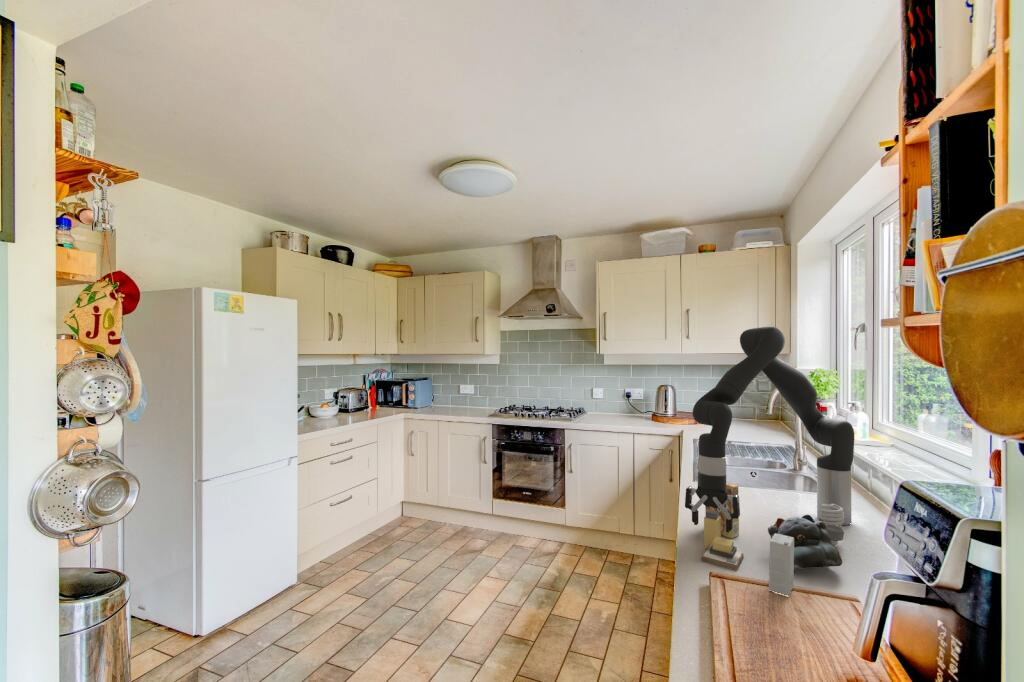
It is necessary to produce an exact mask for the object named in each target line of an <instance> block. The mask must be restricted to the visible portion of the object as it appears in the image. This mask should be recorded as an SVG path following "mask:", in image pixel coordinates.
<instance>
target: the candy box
mask: <svg viewBox="0 0 1024 682" xmlns="http://www.w3.org/2000/svg"><path fill="white" fill-rule="evenodd" d="M726 492H727V494H728V495H733V496H734V495H738V496H739V485H738V484H734V483H731V482H727V481H726ZM725 503H726V504H727V506H728V508H729V510H730V511H731V512H732V513H733V504H732V503H731V502H730V500H729V499H727V500H726V501H725ZM704 507H705V509H704V510H705V512H704V513H705V516H706V511H707V510H708V509H709V510H714V511H719V517H721V536H724V537H726V538H729V539H734V538H736V537H739V536H740V519H739V518H740V516H739V517H738V519H733V528H732V530H731V531H730V532H729V533H728V532H726V516H725V515H724V513H723V512H722V511H721V510H720V509H719V508H717V509H716V508H713V507H707V506H705V505H704ZM721 508H722V507H721Z"/></svg>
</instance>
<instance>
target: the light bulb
mask: <svg viewBox="0 0 1024 682" xmlns="http://www.w3.org/2000/svg"><path fill="white" fill-rule="evenodd" d="M821 507H823V508H821V511H823V512H820V514H821V515H823V516H821V519H823V520H827V521H836V522H826V521H822V522H824V523H825V524H826V528H827V531H828V534H829V537H830V540H831V544H832V546H833V547H835V546H837V545H838V544H839V543H838V542H842V541H843V540H844V537H845V536H844V534H845V532H844V528H842V526H843V525H842V524H843V523H844V520H843V519H844V512H843V508H842V507H840V506H838V505H836V504H830V505H827V504H822V505H821ZM828 508H833V509H836V510H832V509H828ZM840 512H841V513H840ZM833 513H836V514H833ZM833 517H836V518H833Z"/></svg>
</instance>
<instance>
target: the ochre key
mask: <svg viewBox="0 0 1024 682" xmlns="http://www.w3.org/2000/svg"><path fill="white" fill-rule="evenodd" d="M734 542H735V541H734V540H733V539H730V538H729V539H727V538H724V537H721V538H720V537H716V538H715V539H714V541H713V549H714V550H718V551H722V552H726V553H729V554H731V552H732V550H733V548H734V547H735V543H734Z"/></svg>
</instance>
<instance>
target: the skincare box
mask: <svg viewBox="0 0 1024 682" xmlns="http://www.w3.org/2000/svg"><path fill="white" fill-rule="evenodd" d="M768 559H769V562H768V563H769V565H768V566H769V567H768V569H769V570H768V591H769V590H771V591H774V592H777V593H781V594H784V595H788V596H789V595H790V596H791V594H790V593H792V591H793V589H792V587H793V588H794V576H795V575H794V573H795V570H794V538H793V537H790V536H785V535H781V534H776V533H775V534H774V535H773V537H772V539H771V538H770V541H769V558H768ZM791 590H792V591H791ZM790 596H789V597H790Z"/></svg>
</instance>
